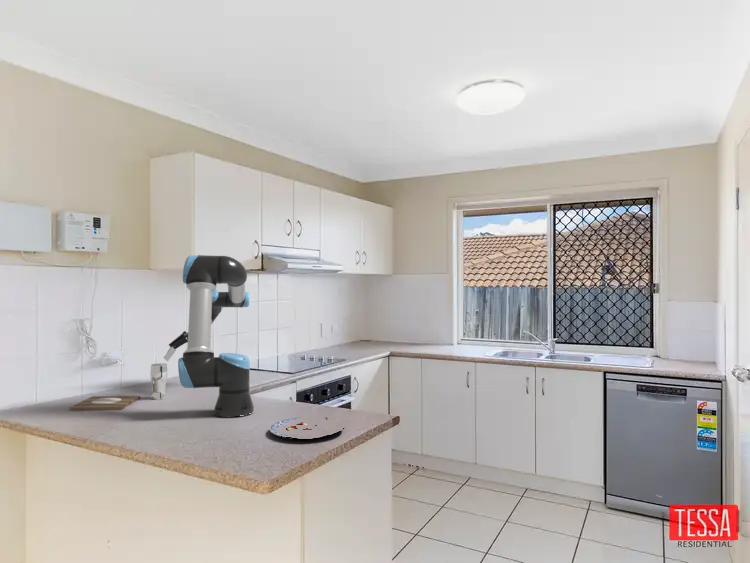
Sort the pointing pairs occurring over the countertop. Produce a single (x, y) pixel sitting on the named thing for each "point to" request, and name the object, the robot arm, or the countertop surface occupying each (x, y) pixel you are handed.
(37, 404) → the countertop surface
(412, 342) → the countertop surface
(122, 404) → the walnut board
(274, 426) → the ceramic plate
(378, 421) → the countertop surface
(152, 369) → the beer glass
